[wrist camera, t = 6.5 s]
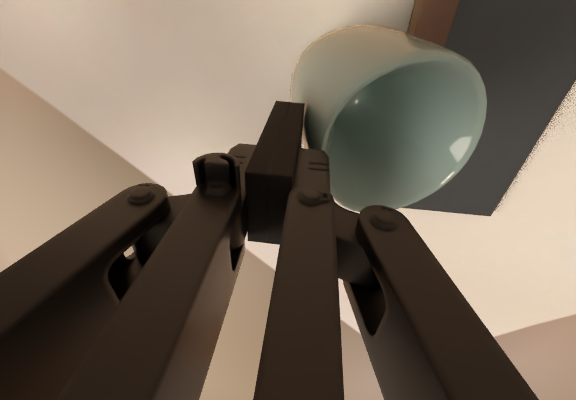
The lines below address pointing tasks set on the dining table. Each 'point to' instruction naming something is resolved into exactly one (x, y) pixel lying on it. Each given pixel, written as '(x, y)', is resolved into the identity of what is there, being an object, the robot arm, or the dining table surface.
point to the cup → (388, 113)
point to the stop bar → (433, 19)
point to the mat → (508, 91)
